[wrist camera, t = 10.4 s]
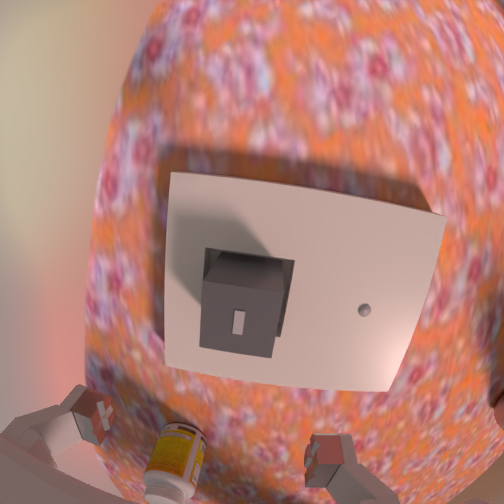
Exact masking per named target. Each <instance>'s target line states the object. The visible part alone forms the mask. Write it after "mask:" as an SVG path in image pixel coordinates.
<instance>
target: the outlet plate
mask: <svg viewBox="0 0 504 504" xmlns="http://www.w3.org/2000/svg"><path fill="white" fill-rule="evenodd" d="M446 220H447V217H445V216H443V215H440V214H437V213H434V212H431V211H427V210H423V209H418V208H414V207H410V206H405V205H401V204H396V203H392V202H387V201H382V200H378V199H373V198H368V197H363V196H358V195H352V194H347V193H342V192H336V191H330V190H325V189H319V188H313V187H307V186H300V185H294V184H287V183H280V182H273V181H266V180H259V179H251V178H243V177H234V176H226V175H216V174H207V173H196V172H185V171H178V172H171V177H170V188H169V201H168V215H167V231H166V253H165V291H164V328H165V365H166V366H169V367H173V368H178V369H182V370H187V371H192V372H197V373H202V374H207V375H212V376H218V377H223V378H229V379H236V380H242V381H249V382H256V383H263V384H271V385H280V386H289V387H299V388H311V389H325V390H343V391H388V390H389V388H390V386H391V384H392V382H393V379H394V377H395V375H396V373H397V371H398V369H399V366H400V364H401V362H402V359H403V357H404V355H405V352H406V350H407V348H408V345H409V343H410V340H411V338H412V335H413V332H414V330H415V327H416V324H417V322H418V319H419V316H420V313H421V311H422V308H423V305H424V302H425V299H426V296H427V293H428V289H429V286H430V283H431V280H432V276H433V273H434V269H435V266H436V262H437V258H438V254H439V251H440V247H441V242H442V238H443V234H444V229H445V225H446ZM221 252H228V253H235V254H242V255H249V256H256V257H263V258H269V259H276V260H282V262H283V284H284V295H283V301H282V306H281V311H280V317H279V322H278V327H277V332H276V337H275V343H274V348H273V353H272V358H264V357H257V356H250V355H243V354H237V353H231V352H225V351H219V350H213V349H208V348H202V347H199V340H200V321H201V304H202V289H203V280H204V279H205V277H206V275H207V274H208V272H209V271H210V269H211V267H212V266H213V264H214V263H215V261H216V259H217V258H218V256H219V255H220V253H221Z"/></svg>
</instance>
